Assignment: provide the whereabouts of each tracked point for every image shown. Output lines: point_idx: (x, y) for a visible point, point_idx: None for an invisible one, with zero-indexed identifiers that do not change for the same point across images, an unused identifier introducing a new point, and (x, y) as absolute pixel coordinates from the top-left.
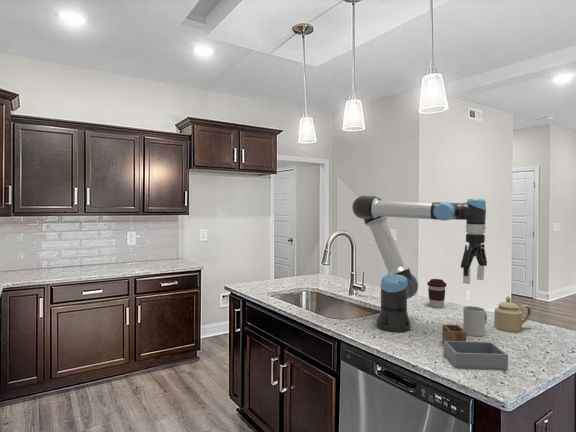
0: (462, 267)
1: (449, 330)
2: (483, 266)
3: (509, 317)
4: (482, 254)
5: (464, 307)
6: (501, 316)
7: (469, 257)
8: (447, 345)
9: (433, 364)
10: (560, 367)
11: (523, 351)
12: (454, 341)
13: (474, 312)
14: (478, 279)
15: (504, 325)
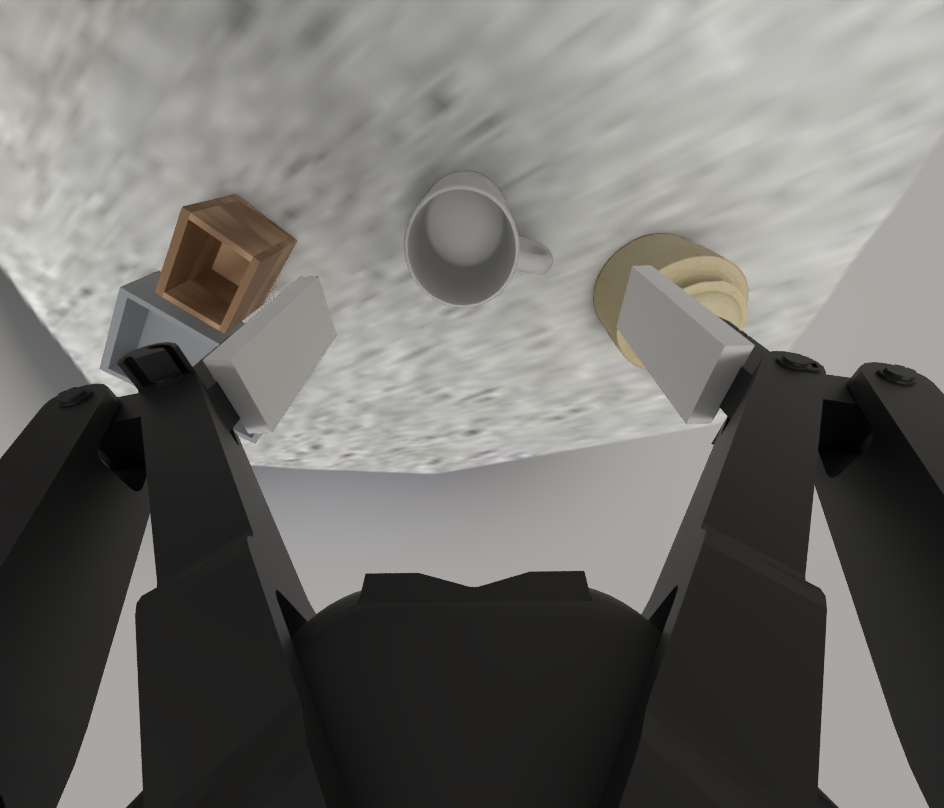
0: (155, 371)
1: (160, 282)
2: (685, 418)
3: (611, 336)
4: (884, 585)
5: (440, 193)
6: (613, 305)
7: (101, 602)
8: (114, 315)
9: (70, 297)
10: (396, 467)
11: (426, 400)
12: (163, 315)
13: (414, 277)
14: (629, 283)
15: (599, 303)
